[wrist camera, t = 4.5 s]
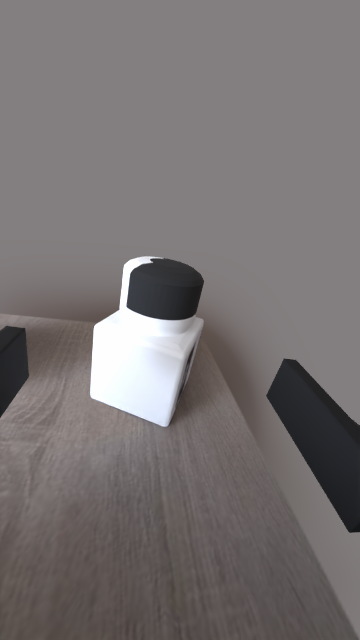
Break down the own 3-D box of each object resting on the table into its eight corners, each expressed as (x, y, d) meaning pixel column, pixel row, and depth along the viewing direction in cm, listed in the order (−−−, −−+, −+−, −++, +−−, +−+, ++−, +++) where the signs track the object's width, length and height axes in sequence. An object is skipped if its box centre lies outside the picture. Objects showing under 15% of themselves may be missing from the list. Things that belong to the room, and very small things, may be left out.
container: (188, 378, 27) (219, 267, 22) (166, 430, 20) (204, 286, 15) (128, 356, 28) (142, 247, 23) (88, 398, 21) (95, 256, 16)
